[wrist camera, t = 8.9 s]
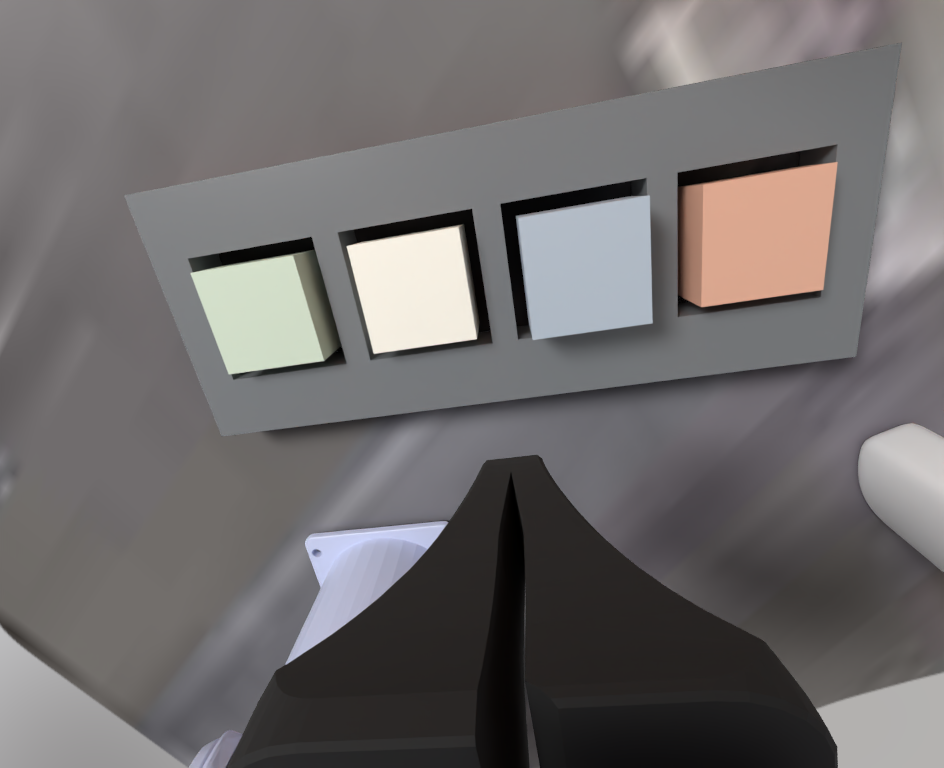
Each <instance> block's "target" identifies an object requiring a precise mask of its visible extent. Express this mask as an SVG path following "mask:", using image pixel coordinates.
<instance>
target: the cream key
mask: <svg viewBox="0 0 944 768" xmlns="http://www.w3.org/2000/svg"><path fill="white" fill-rule="evenodd" d="M347 250H348V254H349V258H350V262H351V266H352V270H353V274H354V278H355V282H356V286H357V290H358V293H359V297H360V301H361V305H362V309H363V313H364V317H365V321H366V325H367V329H368V333H369V337H370V341H371V345H372V349H373V353H374V354H376V353H383V352H390V351H397V350H404V349H411V348H418V347H425V346H432V345H439V344H447V343H454V342H461V341H468V340H475V339H477V336H478V331H479V325H480V320H479V314H478V308H477V302H476V295H475V289H474V283H473V277H472V270H471V264H470V258H469V252H468V246H467V239H466V233H465V227H464V224H461V225H455V226H449V227H443V228H437V229H432V230H426V231H420V232H414V233H408V234H403V235H397V236H391V237H385V238H379V239H374V240H368V241H364V242H360V243H356V244H353V245H349V246H347Z"/></svg>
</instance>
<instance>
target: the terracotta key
mask: <svg viewBox="0 0 944 768" xmlns="http://www.w3.org/2000/svg"><path fill="white" fill-rule="evenodd" d="M837 164H838V162H833V163H824V164H816V165H808V166H800V167H792V168H786V169H780V170H774V171H768V172H762V173H757V174H751V175H745V176H739V177H733V178H728V179H722V180H716V181H710V182H704V183H699V184H693V185H687V186H681V187H677V229H678V295H679V296H681V297H682V298H684V299H686V300H688V301H690V302H692V303H694V304H696V305H698V306H700V307H707V306H714V305H721V304H728V303H735V302H742V301H749V300H756V299H763V298H770V297H777V296H784V295H791V294H798V293H805V292H812V291H819V290H823V288H824V279H825V270H826V261H827V253H828V244H829V235H830V226H831V217H832V208H833V199H834V191H835V182H836V173H837Z"/></svg>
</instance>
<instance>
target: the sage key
mask: <svg viewBox="0 0 944 768" xmlns="http://www.w3.org/2000/svg"><path fill="white" fill-rule="evenodd" d="M190 274H191V276H192V279H193V282H194V284H195V287H196V290H197V292H198V295H199V297H200V300H201V303H202V305H203V308H204V311H205V313H206V316H207V319H208V321H209V324H210V326H211V329H212V332H213V334H214V337H215V340H216V342H217V345H218V348H219V350H220V353H221V355H222V358H223V361H224V363H225V366H226V369H227V371H228V374H236V373H243V372H250V371H257V370H264V369H271V368H278V367H285V366H292V365H299V364H306V363H313V362H320V361H325V360H326V359H327V358H328V357H329V356H330V355H331V354H332V353H334V352H335V351H336V350H337V349H338V348H339V347H340V346H341V345H342V344H341V341H340V337H339V334H338V330H337V326H336V323H335V319H334V316H333V312H332V308H331V305H330V301H329V298H328V294H327V290H326V287H325V283H324V280H323V276H322V272H321V269H320V265H319V262H318V258H317V254H316V251H315V250H310V251H304V252H298V253H292V254H286V255H281V256H275V257H269V258H263V259H257V260H252V261H246V262H240V263H234V264H228V265H224V266H219V267H215V268H211V269H206V270H202V271H197V272H193V273H190Z"/></svg>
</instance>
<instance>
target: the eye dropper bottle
mask: <svg viewBox="0 0 944 768" xmlns="http://www.w3.org/2000/svg"><path fill="white" fill-rule="evenodd" d="M858 479H859V485H860V488H861V491H862V494H863V496H864V498H865V500H866V502H867V503H868V505H869V506H870V508H871V509H872V510H873V512H874V513H875V514H876V515H877V516H878V517H879V518H880V519H881V520H882V521H883V522H884V523H885V524H886V525H887V526H889V527H890V528H891V529H892V530H893V531H894V532H896V533H897V534H898V535H899V536H900V537H902V538H903V539H904V540H905V541H906V542H908V543H909V544H910V545H911V546H912V547H914V548H915V549H916V550H917V551H918V552H920V553H921V554H922V555H923V556H924V557H926V558H927V559H928V560H929V561H930V562H932V563H933V564H934V565H935V566H936V567H938V568H939V569H940V570H941V571H942V572H944V437H942V436H940V435H938V434H936V433H934V432H932V431H931V430H929V429H927V428H925V427H923V426H920V425H917V424H914V423H909V424H903V425H900V426H897V427H895V428H892V429H890V430H887V431H884V432H882V433H879V434H877V435H874V436H872V437H870V438H869V439H867V440H866V441H865V442H864V443H863V445H862V447H861V450H860V454H859V460H858Z"/></svg>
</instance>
